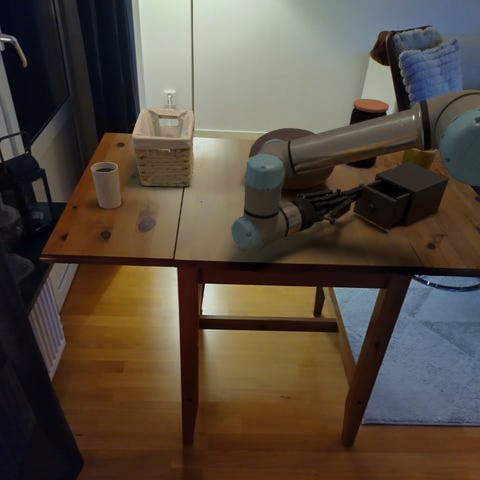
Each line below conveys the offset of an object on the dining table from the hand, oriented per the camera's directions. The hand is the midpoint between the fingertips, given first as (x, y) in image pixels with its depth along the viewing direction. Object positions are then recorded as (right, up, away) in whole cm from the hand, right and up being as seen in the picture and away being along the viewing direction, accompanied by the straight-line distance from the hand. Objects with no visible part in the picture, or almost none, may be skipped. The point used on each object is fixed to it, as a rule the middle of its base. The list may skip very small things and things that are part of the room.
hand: (360, 192), depth 117 cm
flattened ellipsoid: (-16, +8, +20) cm, 27 cm away
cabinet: (+14, -2, +10) cm, 18 cm away
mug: (+26, +15, +31) cm, 43 cm away
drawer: (+8, -4, +6) cm, 11 cm away
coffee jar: (+8, +19, +34) cm, 40 cm away
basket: (-53, +12, +23) cm, 59 cm away
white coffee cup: (-65, -2, +6) cm, 66 cm away
